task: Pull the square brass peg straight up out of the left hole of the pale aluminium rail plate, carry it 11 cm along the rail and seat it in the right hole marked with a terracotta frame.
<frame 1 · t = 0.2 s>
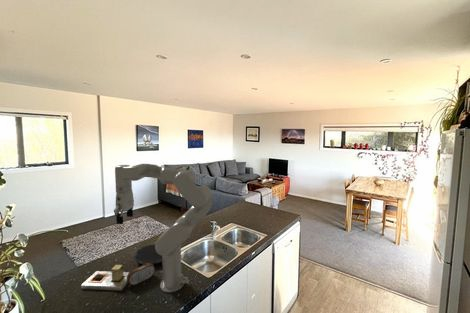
hand: (125, 220, 118), 36 cm above the worktop, tool pointing down, fingers open, 9 cm apart
tin: (141, 281, 124), on the worktop
rail plate: (108, 281, 123), on the worktop
bowl: (152, 259, 145), on the worktop
brass peg: (118, 282, 122), resting in rail plate
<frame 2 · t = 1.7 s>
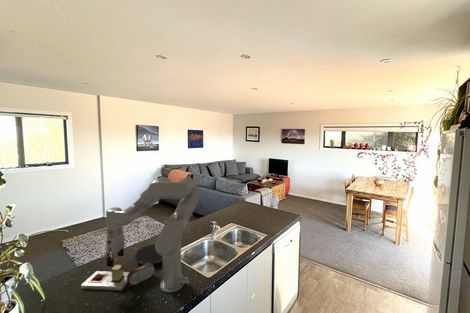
hand: (115, 260, 121), 12 cm above the worktop, tool pointing down, fingers open, 9 cm apart
nothing on the worktop moved.
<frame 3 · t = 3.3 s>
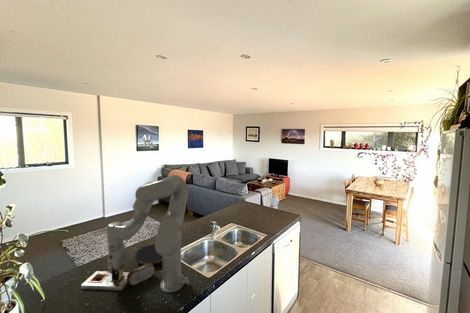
hand: (117, 276, 122), 3 cm above the worktop, tool pointing down, fingers closed on brass peg, 4 cm apart
brass peg: (118, 282, 122), resting in rail plate, touching gripper
everything else where it was.
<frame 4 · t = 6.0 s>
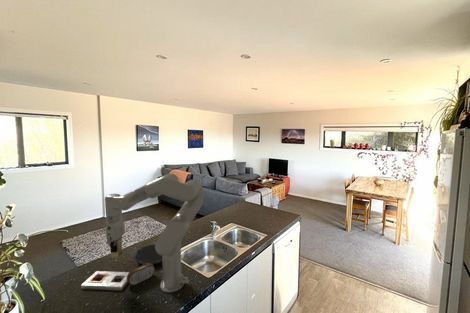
hand: (116, 249, 120), 19 cm above the worktop, tool pointing down, fingers closed on brass peg, 4 cm apart
brass peg: (116, 255, 121), point 16 cm above the worktop, touching gripper
everything else where it was.
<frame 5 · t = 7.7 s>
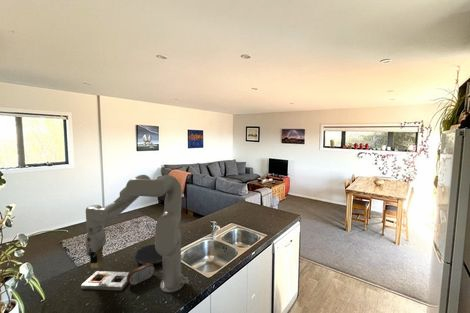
hand: (96, 260, 122), 13 cm above the worktop, tool pointing down, fingers closed on brass peg, 4 cm apart
brass peg: (96, 265, 122), point 9 cm above the worktop, touching gripper
everything else where it was.
when the fingers open (4 cm above the worktop, at t = 9.2 s): brass peg stays where it is, resting in rail plate.
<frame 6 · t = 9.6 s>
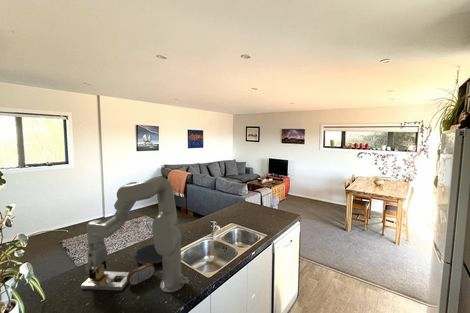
hand: (98, 273, 123), 5 cm above the worktop, tool pointing down, fingers open, 8 cm apart
brass peg: (98, 281, 123), resting in rail plate
everything else where it was.
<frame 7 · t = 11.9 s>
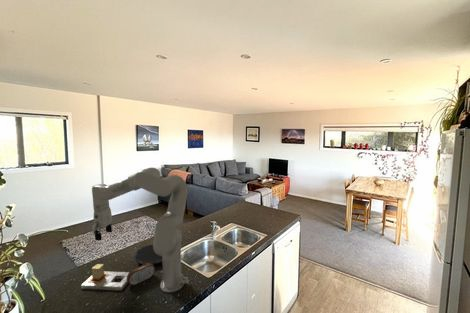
hand: (104, 235, 126), 24 cm above the worktop, tool pointing down, fingers open, 9 cm apart
nothing on the worktop moved.
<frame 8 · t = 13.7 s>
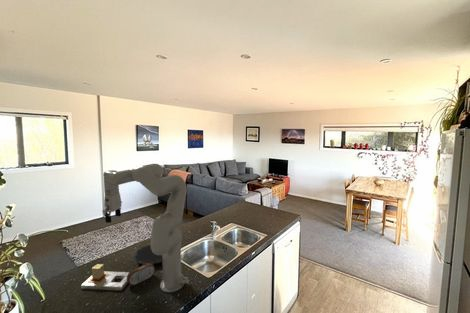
hand: (113, 219, 134), 30 cm above the worktop, tool pointing down, fingers open, 9 cm apart
nothing on the worktop moved.
at the end: brass peg 0.0 cm from the target spot on the rail plate, point 0.0 cm above the rail plate's base; brass peg tilted 0°; the gripper is holding nothing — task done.
